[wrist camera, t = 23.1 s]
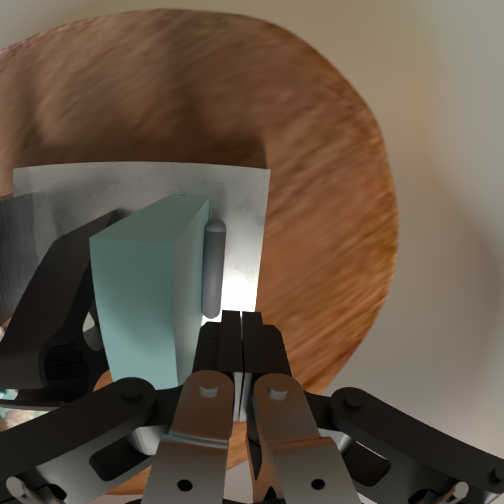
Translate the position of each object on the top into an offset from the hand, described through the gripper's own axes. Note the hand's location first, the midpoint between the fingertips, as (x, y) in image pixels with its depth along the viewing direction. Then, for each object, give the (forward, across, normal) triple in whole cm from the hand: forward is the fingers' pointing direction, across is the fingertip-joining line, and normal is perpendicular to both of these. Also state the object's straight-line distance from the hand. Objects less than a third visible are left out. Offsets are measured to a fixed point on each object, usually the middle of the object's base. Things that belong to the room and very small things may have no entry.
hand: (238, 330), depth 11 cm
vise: (+10, +9, 0) cm, 13 cm away
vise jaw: (+8, +3, 0) cm, 8 cm away
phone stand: (+8, +9, +2) cm, 12 cm away
